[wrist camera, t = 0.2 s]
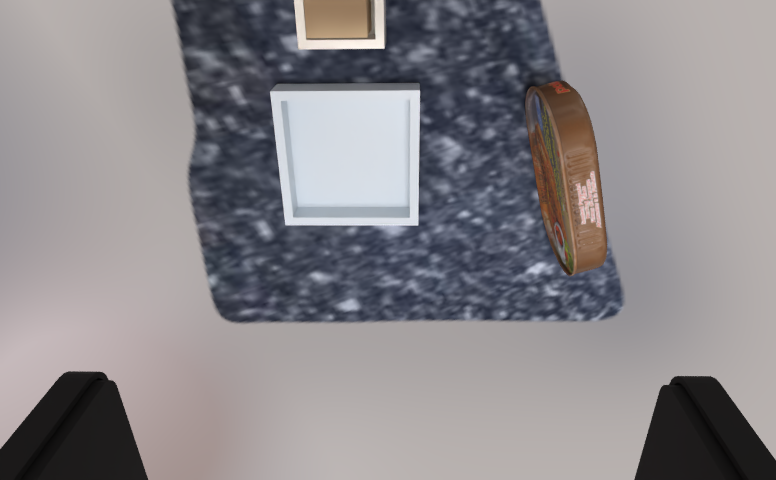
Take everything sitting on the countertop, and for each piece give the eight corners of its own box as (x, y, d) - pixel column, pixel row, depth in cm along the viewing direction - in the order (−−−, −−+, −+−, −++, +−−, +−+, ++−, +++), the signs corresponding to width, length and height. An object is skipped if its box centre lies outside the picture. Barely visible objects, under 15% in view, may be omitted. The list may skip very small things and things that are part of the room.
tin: (518, 76, 41) (543, 104, 34) (560, 65, 41) (594, 91, 33) (546, 244, 48) (571, 298, 41) (582, 236, 48) (614, 289, 40)
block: (312, -32, 38) (301, -30, 34) (369, -33, 38) (365, -31, 34) (317, 29, 40) (306, 38, 36) (371, 28, 40) (367, 37, 36)
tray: (277, 83, 42) (270, 91, 40) (419, 82, 42) (420, 90, 40) (291, 212, 47) (285, 225, 45) (417, 212, 47) (418, 225, 45)
